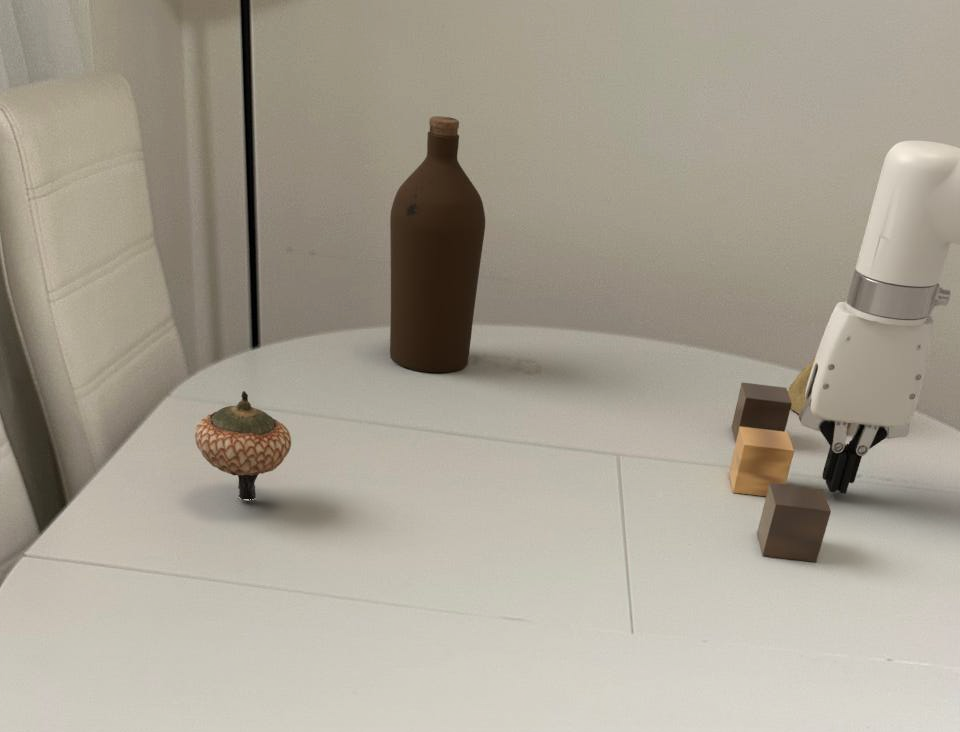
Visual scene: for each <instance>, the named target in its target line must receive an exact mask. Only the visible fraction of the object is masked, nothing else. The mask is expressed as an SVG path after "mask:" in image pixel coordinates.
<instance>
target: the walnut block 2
mask: <svg viewBox="0 0 960 732" xmlns="http://www.w3.org/2000/svg"><path fill="white" fill-rule="evenodd" d="M831 513H832V509H831V507H830V504H829V502H828V499H827V496H826V493H825V490H824V489H823V488H819V487H818V488H816V487H809V486H801V485H794V484H793V485H791V484H776V483H770V484H769V488H768V492H767V496H765V500H764V504H763V508H762V511H761V516H760V520H759V523H758V528H757V531H756V534H757V538H758V543H759V546H760V551H761V554H762V556H763V557H771V558H779V559H787V560H793V561H801V562H802V561H803V562H810V563H817V561H818V558H819V554H820V551H821V547H822V544H823V540H824V538H825V533H826V530H827V527H828V524H829V521H830V516H831Z"/></svg>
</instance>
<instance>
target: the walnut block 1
mask: <svg viewBox="0 0 960 732" xmlns="http://www.w3.org/2000/svg"><path fill="white" fill-rule="evenodd" d="M788 391H789V390H788V389H787V387H784V386H775V385H768V384H759V383H752V382H751V383H750V382H741V384H740V388H739V392H738V397H737V400H736V405H735V408H734V409H735V410H734V415H733V419H732V423H731V430H732V434H733V438H734V442H735V444H736V439H737V435H738V431H739V427H740V426H741V427H749V428H758V429H766V430H775V431H783V432H786V428H787V424H788V420H789V417H790V413H791V410H792V409H791V405H792V402H791V399H790V397H789V394H788Z"/></svg>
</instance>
